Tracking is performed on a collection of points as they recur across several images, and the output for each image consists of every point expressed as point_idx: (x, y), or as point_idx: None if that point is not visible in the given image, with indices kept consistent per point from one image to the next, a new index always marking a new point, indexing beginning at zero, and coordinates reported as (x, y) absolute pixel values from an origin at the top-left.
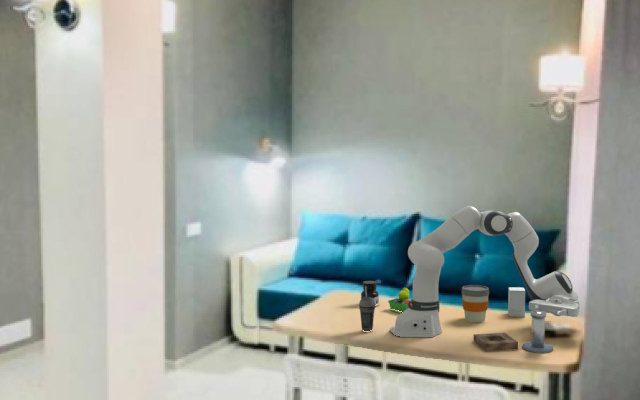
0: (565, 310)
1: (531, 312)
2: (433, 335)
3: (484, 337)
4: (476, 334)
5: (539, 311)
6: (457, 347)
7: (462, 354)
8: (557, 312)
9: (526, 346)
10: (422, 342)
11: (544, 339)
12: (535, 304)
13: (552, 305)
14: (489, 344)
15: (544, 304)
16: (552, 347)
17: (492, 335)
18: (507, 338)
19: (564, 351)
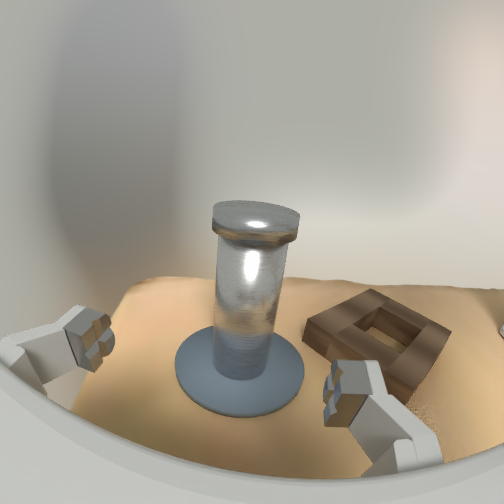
0: (17, 334)
1: (288, 208)
2: (501, 331)
3: (414, 322)
4: (447, 333)
5: (254, 213)
6: (424, 308)
7: (384, 285)
8: (109, 320)
9: (281, 349)
10: (477, 308)
11: (213, 335)
12: (457, 463)
13: (130, 447)
14: (364, 292)
15: (316, 480)
16: (178, 361)
17: (415, 344)
18: (359, 336)
19: (134, 355)
